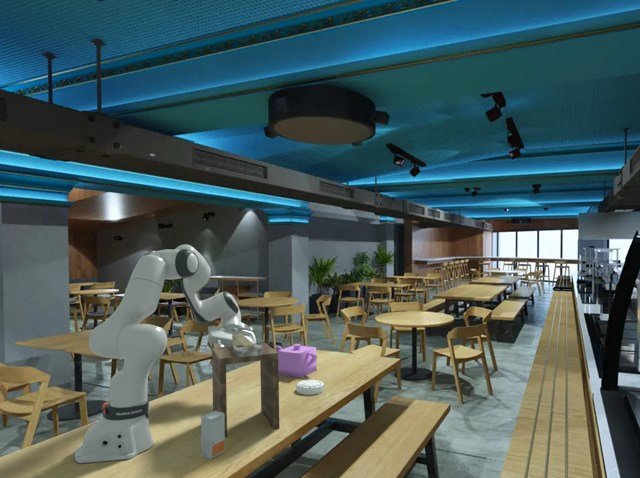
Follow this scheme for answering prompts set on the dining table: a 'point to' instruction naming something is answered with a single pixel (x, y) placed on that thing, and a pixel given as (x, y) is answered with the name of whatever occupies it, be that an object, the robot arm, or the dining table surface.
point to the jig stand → (268, 377)
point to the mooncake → (310, 387)
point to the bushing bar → (241, 341)
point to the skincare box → (212, 434)
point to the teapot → (296, 360)
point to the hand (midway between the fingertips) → (232, 351)
